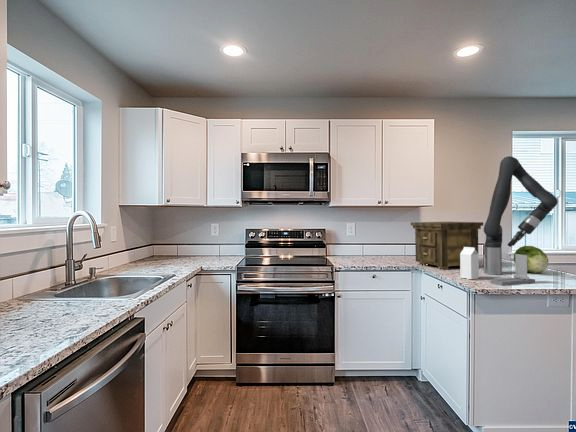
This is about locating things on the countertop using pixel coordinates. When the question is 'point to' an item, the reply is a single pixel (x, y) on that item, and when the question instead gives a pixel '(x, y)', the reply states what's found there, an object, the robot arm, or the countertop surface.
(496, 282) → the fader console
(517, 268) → the fader tab
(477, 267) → the milk carton
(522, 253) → the lettuce
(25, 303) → the countertop surface
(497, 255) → the robot arm
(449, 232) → the wooden drawer cabinet
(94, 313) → the countertop surface
